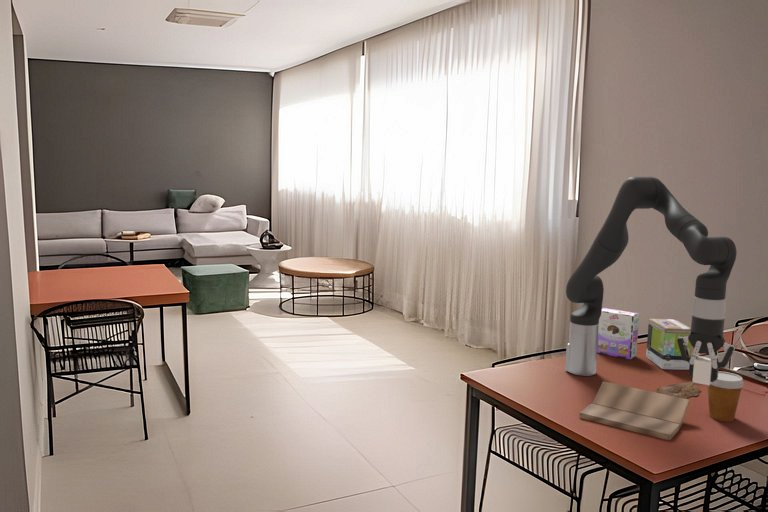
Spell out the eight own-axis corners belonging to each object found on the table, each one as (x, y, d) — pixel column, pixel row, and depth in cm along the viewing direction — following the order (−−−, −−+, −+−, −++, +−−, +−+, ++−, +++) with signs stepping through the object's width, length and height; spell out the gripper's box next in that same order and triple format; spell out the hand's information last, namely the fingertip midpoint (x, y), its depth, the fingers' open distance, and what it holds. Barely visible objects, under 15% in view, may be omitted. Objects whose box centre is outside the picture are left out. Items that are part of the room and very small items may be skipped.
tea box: (690, 370, 229) (694, 328, 227) (661, 370, 230) (664, 328, 227) (672, 357, 244) (675, 318, 242) (645, 357, 244) (647, 317, 242)
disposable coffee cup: (739, 426, 181) (743, 384, 179) (700, 419, 186) (704, 377, 184) (741, 415, 189) (745, 374, 187) (705, 408, 194) (708, 368, 192)
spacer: (692, 382, 172) (694, 359, 171) (696, 378, 175) (698, 356, 174) (709, 385, 170) (711, 362, 169) (712, 381, 173) (714, 359, 172)
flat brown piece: (678, 408, 195) (678, 404, 195) (641, 398, 203) (642, 395, 203) (712, 388, 212) (713, 385, 212) (678, 380, 220) (678, 377, 220)
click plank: (593, 406, 194) (592, 403, 193) (603, 385, 200) (602, 381, 199) (680, 427, 180) (680, 423, 179) (689, 403, 185) (688, 399, 184)
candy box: (637, 356, 245) (640, 313, 242) (630, 360, 240) (633, 315, 238) (601, 349, 254) (603, 307, 251) (594, 352, 250) (596, 309, 247)
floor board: (579, 418, 186) (579, 412, 186) (592, 407, 194) (592, 402, 193) (669, 440, 171) (670, 434, 171) (680, 428, 179) (680, 423, 179)
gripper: (674, 313, 171) (670, 377, 174) (736, 321, 163) (730, 389, 165) (682, 308, 177) (677, 370, 180) (742, 316, 169) (736, 381, 171)
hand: (703, 379), depth 172 cm, fingers closed on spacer, 4 cm apart
